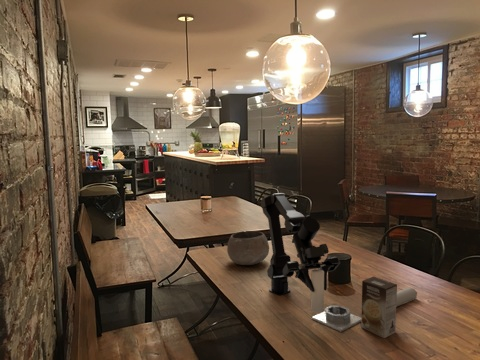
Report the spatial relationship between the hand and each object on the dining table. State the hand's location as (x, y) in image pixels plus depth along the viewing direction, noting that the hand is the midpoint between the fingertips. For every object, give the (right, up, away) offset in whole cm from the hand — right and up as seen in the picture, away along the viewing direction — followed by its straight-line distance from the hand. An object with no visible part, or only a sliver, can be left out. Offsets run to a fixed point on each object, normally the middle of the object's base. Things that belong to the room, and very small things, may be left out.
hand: (319, 290), depth 127 cm
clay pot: (-21, -6, +71) cm, 74 cm away
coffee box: (+19, -13, +1) cm, 23 cm away
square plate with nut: (+8, -12, +9) cm, 17 cm away
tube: (+31, -11, +19) cm, 38 cm away
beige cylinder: (0, -7, +2) cm, 7 cm away
